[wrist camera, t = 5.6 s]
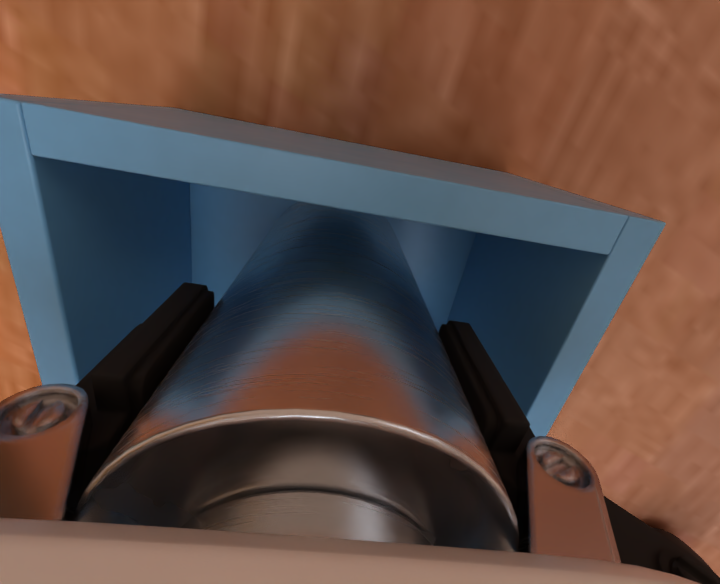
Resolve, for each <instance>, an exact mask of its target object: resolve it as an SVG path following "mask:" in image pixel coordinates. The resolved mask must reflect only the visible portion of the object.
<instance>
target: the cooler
mask: <svg viewBox="0 0 720 584" xmlns="http://www.w3.org/2000/svg"><path fill="white" fill-rule="evenodd" d="M296 202H304V203H310V204H315V205H321V206H327V207H333V208H338V209H344V210H350V211H356V212H362V213H367V214H373V215H379V216H385V218H386V219H387V220H388V222H389V223H390V224H391V226H392V228H393V230H394V232H395V234H396V236H397V239H398V241H399V243H400V246H401V248H402V250H403V252H404V255H405V257H406V259H407V262H408V264H409V266H410V269H411V271H412V273H413V276H414V278H415V280H416V283H417V285H418V287H419V290H420V292H421V294H422V297H423V299H424V301H425V304H426V306H427V308H428V310H429V313H430V315H431V317H432V320H433V322H434V324H435V327H436V329H437V331H438V332H439V329H440V327H441V325H442V324H447V323H448V321H450V320H452V321H459V322H465V323H469V324H470V325H471V327H472V329H473V330H474V332H475V334H476V335H477V337H478V339H479V340H480V342H481V344H482V345H483V347H484V348H485V350H486V352H487V353H488V355H489V357H490V358H491V360H492V362H493V363H494V365H495V367H496V368H497V370H498V372H499V373H500V375H501V377H502V378H503V380H504V382H505V383H506V385H507V386H508V388H509V390H510V391H511V393H512V395H513V396H514V398H515V400H516V401H517V403H518V405H519V406H520V408H521V410H522V411H523V413H524V415H525V416H526V418H527V419H528V421H529V423H530V426H529V427H530V428H531V430H532V432H533V434H534V435H535V437H537V436H546V435H547V433H548V432H549V430H550V428H551V426H552V424H553V423H554V421H555V419H556V417H557V416H558V414H559V412H560V410H561V409H562V407H563V405H564V403H565V402H566V400H567V398H568V396H569V394H570V393H571V391H572V389H573V387H574V386H575V384H576V382H577V380H578V379H579V377H580V375H581V373H582V371H583V370H584V368H585V366H586V364H587V363H588V361H589V359H590V357H591V356H592V354H593V352H594V350H595V348H596V347H597V345H598V343H599V341H600V340H601V338H602V336H603V334H604V333H605V331H606V329H607V327H608V326H609V324H610V322H611V320H612V318H613V317H614V315H615V313H616V311H617V310H618V308H619V306H620V304H621V303H622V301H623V299H624V297H625V295H626V294H627V292H628V290H629V288H630V287H631V285H632V283H633V281H634V280H635V278H636V276H637V274H638V272H639V271H640V269H641V267H642V265H643V264H644V262H645V260H646V258H647V257H648V255H649V253H650V251H651V250H652V248H653V246H654V244H655V242H656V241H657V239H658V237H659V235H660V234H661V232H662V230H663V228H664V227H665V224H666V223H665V222H663V221H659V220H656V219H653V218H650V217H647V216H644V215H640V214H637V213H634V212H631V211H628V210H625V209H621V208H618V207H615V206H612V205H609V204H605V203H602V202H599V201H596V200H593V199H590V198H586V197H583V196H580V195H577V194H574V193H570V192H567V191H564V190H561V189H558V188H555V187H551V186H548V185H545V184H542V183H539V182H536V181H532V180H529V179H526V178H523V177H520V176H516V175H513V174H510V173H506V172H501V171H496V170H491V169H486V168H481V167H476V166H471V165H465V164H460V163H455V162H450V161H445V160H440V159H435V158H429V157H424V156H419V155H414V154H409V153H404V152H399V151H394V150H388V149H383V148H378V147H373V146H368V145H363V144H358V143H353V142H347V141H342V140H337V139H332V138H327V137H322V136H317V135H311V134H306V133H301V132H296V131H291V130H286V129H281V128H276V127H270V126H265V125H260V124H255V123H250V122H245V121H240V120H235V119H229V118H224V117H219V116H214V115H209V114H204V113H199V112H194V111H188V110H183V109H178V108H172V107H158V106H146V105H134V104H121V103H109V102H97V101H85V100H72V99H60V98H48V97H35V96H23V95H11V94H0V227H1V231H2V235H3V239H4V242H5V246H6V250H7V254H8V258H9V261H10V265H11V269H12V273H13V276H14V280H15V284H16V288H17V291H18V295H19V299H20V303H21V306H22V310H23V314H24V318H25V322H26V325H27V329H28V333H29V337H30V340H31V344H32V348H33V352H34V355H35V359H36V363H37V367H38V370H39V374H40V378H41V382H42V385H47V384H60V383H64V384H71V385H75V386H76V385H77V384H78V383H79V382H80V381H81V380H82V379H83V378H84V377H85V376H86V375H87V374H88V373H89V372H90V371H91V370H92V369H93V368H94V367H95V366H96V365H97V364H98V363H99V362H100V361H101V360H102V359H103V358H104V357H105V356H106V355H107V354H108V353H109V352H110V351H111V350H112V349H114V348H115V347H116V346H117V345H118V344H119V343H120V342H121V341H122V340H123V339H124V338H125V337H126V336H127V335H128V334H129V333H130V332H131V331H132V330H133V329H134V328H135V327H136V326H138V325H139V324H142V323H143V322H144V321H145V320H146V319H147V318H148V317H149V316H150V315H151V314H152V313H153V312H154V311H155V310H157V309H158V308H159V307H160V306H161V305H162V304H163V303H164V302H165V301H166V300H167V299H168V298H169V297H170V296H171V295H172V294H173V293H174V292H175V291H176V290H177V289H178V288H179V287H180V286H181V285H182V284H183V283H184V282H187V283H194V284H201V285H206V286H207V287H208V291H213V292H214V307H215V306H216V305H217V303H218V302H219V300H220V299H221V298H222V296H223V295H224V293H225V292H226V291H227V289H228V288H229V286H230V285H231V284H232V282H233V281H234V279H235V278H236V277H237V275H238V274H239V272H240V271H241V270H242V268H243V267H244V265H245V264H246V263H247V261H248V260H249V258H250V257H251V255H252V254H253V253H254V251H255V250H256V248H257V247H258V246H259V244H260V243H261V241H262V240H263V239H264V237H265V236H266V234H267V233H268V232H269V230H270V229H271V227H272V226H273V225H274V223H275V222H276V220H277V219H278V218H279V217H280V216H281V214H282V213H283V212H284V211H285V210H287V209H288V208H289V207H290V206H291V205H293V204H295V203H296Z"/></svg>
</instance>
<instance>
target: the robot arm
mask: <svg viewBox="0 0 720 584" xmlns="http://www.w3.org/2000/svg"><path fill="white" fill-rule="evenodd" d="M213 309H214V292H213V291H208V287H207V286H206V285H201V284H194V283H187V282H184V283H183V284H182V285H181V286H180V287H179V288H178V289H177V290H176V291H175V292H174V293H173V294H172V295H171V296H170V297H169V298H168V299H167V300H166V301H165V302H164V303H163V304H162V305H161V306H160V307H159V308H158V309H157V310H155V311H154V312H153V313H152V314H151V315H150V316H149V317H148V318H147V319H146V320H145V321H144V322H143V323H142V324H139V325H138V326H136V327H135V328H134V329H133V330H132V331H131V332H130V333H129V334H128V335H127V336H126V337H125V338H124V339H123V340H122V341H121V342H120V343H119V344H118V345H117V346H116V347H115V348H114V349H112V350H111V351H110V352H109V353H108V354H107V355H106V356H105V357H104V358H103V359H102V360H101V361H100V362H99V363H98V364H97V365H96V366H95V367H94V368H93V369H92V370H91V371H90V372H89V373H88V374H87V375H86V376H85V377H84V378H83V379H82V380H81V381H80V382H79V383H78V384H77V385H76V386H75V385H71V384H64V383H60V384H47V385H42V386H37V387H32V388H30V389H27V390H24V391H21V392H18V393H16V394H14V395H12V396H10V397H8V398H6V399H5V400H3V401H1V402H0V584H720V578H719V577H718V576H717V575H716V574H715V573H714V572H713V571H712V570H711V569H710V568H709V567H708V566H706V565H705V564H704V563H703V562H701V561H700V560H699V559H697V558H696V557H695V556H693V555H692V554H690V553H689V552H687V551H686V550H684V549H683V548H681V547H680V546H678V545H677V544H675V543H674V542H672V541H671V540H669V539H668V538H666V537H665V536H663V535H662V534H660V533H659V532H657V531H656V530H654V529H653V528H651V527H650V526H648V525H647V524H645V523H644V522H642V521H641V520H639V519H638V518H636V517H635V516H633V515H632V514H630V513H629V512H627V511H626V510H624V509H623V508H621V507H620V506H618V505H617V504H615V503H614V502H612V501H611V500H609V499H608V498H606V497H605V496H603V493H602V489H601V485H600V481H599V478H598V476H597V474H596V471H595V469H594V468H593V467H592V465H591V464H590V463H589V461H588V460H587V459H586V458H585V457H584V456H583V455H581V454H580V453H579V452H578V451H577V450H575V449H574V448H572V447H571V446H570V445H568V444H566V443H564V442H562V441H560V440H558V439H555V438H551V437H548V436H537V437H535V435H534V434H533V432H532V430H531V428H530V427H529V426H530V423H529V421H528V419H527V418H526V416H525V415H524V413H523V411H522V410H521V408H520V406H519V405H518V403H517V401H516V400H515V398H514V396H513V395H512V393H511V391H510V390H509V388H508V386H507V385H506V383H505V382H504V380H503V378H502V377H501V375H500V373H499V372H498V370H497V368H496V367H495V365H494V363H493V362H492V360H491V358H490V357H489V355H488V353H487V352H486V350H485V348H484V347H483V345H482V344H481V342H480V340H479V339H478V337H477V335H476V334H475V332H474V330H473V329H472V327H471V325H470V324H469V323H465V322H459V321H452V320H450V321H448V323H447V324H442V325H441V327H440V329H439V332H438V334H439V336H440V338H441V341H442V343H443V345H444V348H445V350H446V352H447V355H448V357H449V359H450V362H451V364H452V366H453V368H454V371H455V373H456V375H457V378H458V380H459V382H460V385H461V387H462V389H463V392H464V394H465V396H466V399H467V401H468V403H469V406H470V408H471V410H472V413H473V415H474V417H475V420H476V422H477V424H478V426H479V429H480V431H481V433H482V436H483V438H484V440H485V443H486V445H487V447H488V450H489V452H490V454H491V457H492V459H493V461H494V464H495V466H496V468H497V471H498V473H499V475H500V478H501V480H502V482H503V484H504V487H505V489H506V491H507V494H508V496H509V498H510V501H511V503H512V506H513V509H514V511H515V514H516V516H517V523H518V530H519V547H518V552H510V551H497V550H483V549H470V548H457V547H444V546H431V545H418V544H405V543H391V542H377V541H363V540H349V539H335V538H321V537H307V536H292V535H278V534H263V533H249V532H234V531H219V530H203V529H188V528H173V527H157V526H142V525H126V524H111V523H95V522H76V521H73V517H74V514H75V511H76V508H77V505H78V502H79V499H80V498H81V496H82V494H83V493H84V491H85V489H86V488H87V486H88V485H89V483H90V481H91V480H92V479H93V477H94V476H95V474H96V473H97V471H98V470H99V469H100V467H101V466H102V464H103V463H104V462H105V460H106V459H107V457H108V456H109V455H110V453H111V452H112V450H113V449H114V448H115V446H116V445H117V443H118V442H119V441H120V439H121V438H122V436H123V435H124V434H125V432H126V431H127V429H128V428H129V427H130V425H131V424H132V422H133V421H134V420H135V418H136V417H137V415H138V414H139V413H140V411H141V410H142V408H143V407H144V406H145V404H146V403H147V401H148V400H149V399H150V397H151V396H152V394H153V393H154V392H155V390H156V389H157V387H158V386H159V385H160V383H161V382H162V380H163V379H164V378H165V376H166V375H167V373H168V372H169V371H170V369H171V368H172V366H173V365H174V363H175V362H176V361H177V359H178V358H179V356H180V355H181V354H182V352H183V351H184V349H185V348H186V347H187V345H188V344H189V342H190V341H191V340H192V338H193V337H194V335H195V334H196V333H197V331H198V330H199V328H200V327H201V326H202V324H203V323H204V321H205V320H206V319H207V317H208V316H209V314H210V313H211V312H212V310H213Z"/></svg>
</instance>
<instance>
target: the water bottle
mask: <svg viewBox="0 0 720 584" xmlns="http://www.w3.org/2000/svg"><path fill="white" fill-rule="evenodd" d="M73 521H76V522H95V523H111V524H126V525H142V526H157V527H173V528H188V529H203V530H219V531H234V532H249V533H263V534H278V535H292V536H307V537H321V538H335V539H349V540H363V541H377V542H391V543H405V544H418V545H431V546H444V547H457V548H470V549H483V550H497V551H510V552H518V547H519V530H518V523H517V516H516V514H515V511H514V509H513V506H512V503H511V501H510V498H509V496H508V494H507V491H506V489H505V487H504V484H503V482H502V480H501V478H500V475H499V473H498V471H497V468H496V466H495V464H494V461H493V459H492V457H491V454H490V452H489V450H488V447H487V445H486V443H485V440H484V438H483V436H482V433H481V431H480V429H479V426H478V424H477V422H476V420H475V417H474V415H473V413H472V410H471V408H470V406H469V403H468V401H467V399H466V396H465V394H464V392H463V389H462V387H461V385H460V382H459V380H458V378H457V375H456V373H455V371H454V368H453V366H452V364H451V362H450V359H449V357H448V355H447V352H446V350H445V348H444V345H443V343H442V341H441V338H440V336H439V334H438V331H437V329H436V327H435V324H434V322H433V320H432V317H431V315H430V313H429V310H428V308H427V306H426V304H425V301H424V299H423V297H422V294H421V292H420V290H419V287H418V285H417V283H416V280H415V278H414V276H413V273H412V271H411V269H410V266H409V264H408V262H407V259H406V257H405V255H404V252H403V250H402V248H401V246H400V243H399V241H398V239H397V236H396V234H395V232H394V230H393V228H392V226H391V224H390V223H389V222H388V220H387V219H386V218H385V216H379V215H373V214H367V213H362V212H356V211H350V210H344V209H338V208H333V207H327V206H321V205H315V204H310V203H304V202H296V203H295V204H293V205H291V206H290V207H289V208H288V209H287V210H285V211H284V212H283V213H282V214H281V216H280V217H279V218H278V219H277V220H276V222H275V223H274V225H273V226H272V227H271V229H270V230H269V232H268V233H267V234H266V236H265V237H264V239H263V240H262V241H261V243H260V244H259V246H258V247H257V248H256V250H255V251H254V253H253V254H252V255H251V257H250V258H249V260H248V261H247V263H246V264H245V265H244V267H243V268H242V270H241V271H240V272H239V274H238V275H237V277H236V278H235V279H234V281H233V282H232V284H231V285H230V286H229V288H228V289H227V291H226V292H225V293H224V295H223V296H222V298H221V299H220V300H219V302H218V303H217V305H216V306H215V307H214V309H213V310H212V312H211V313H210V314H209V316H208V317H207V319H206V320H205V321H204V323H203V324H202V326H201V327H200V328H199V330H198V331H197V333H196V334H195V335H194V337H193V338H192V340H191V341H190V342H189V344H188V345H187V347H186V348H185V349H184V351H183V352H182V354H181V355H180V356H179V358H178V359H177V361H176V362H175V363H174V365H173V366H172V368H171V369H170V371H169V372H168V373H167V375H166V376H165V378H164V379H163V380H162V382H161V383H160V385H159V386H158V387H157V389H156V390H155V392H154V393H153V394H152V396H151V397H150V399H149V400H148V401H147V403H146V404H145V406H144V407H143V408H142V410H141V411H140V413H139V414H138V415H137V417H136V418H135V420H134V421H133V422H132V424H131V425H130V427H129V428H128V429H127V431H126V432H125V434H124V435H123V436H122V438H121V439H120V441H119V442H118V443H117V445H116V446H115V448H114V449H113V450H112V452H111V453H110V455H109V456H108V457H107V459H106V460H105V462H104V463H103V464H102V466H101V467H100V469H99V470H98V471H97V473H96V474H95V476H94V477H93V479H92V480H91V481H90V483H89V485H88V486H87V488H86V489H85V491H84V493H83V494H82V496H81V498H80V499H79V502H78V505H77V508H76V511H75V514H74V517H73Z"/></svg>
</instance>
